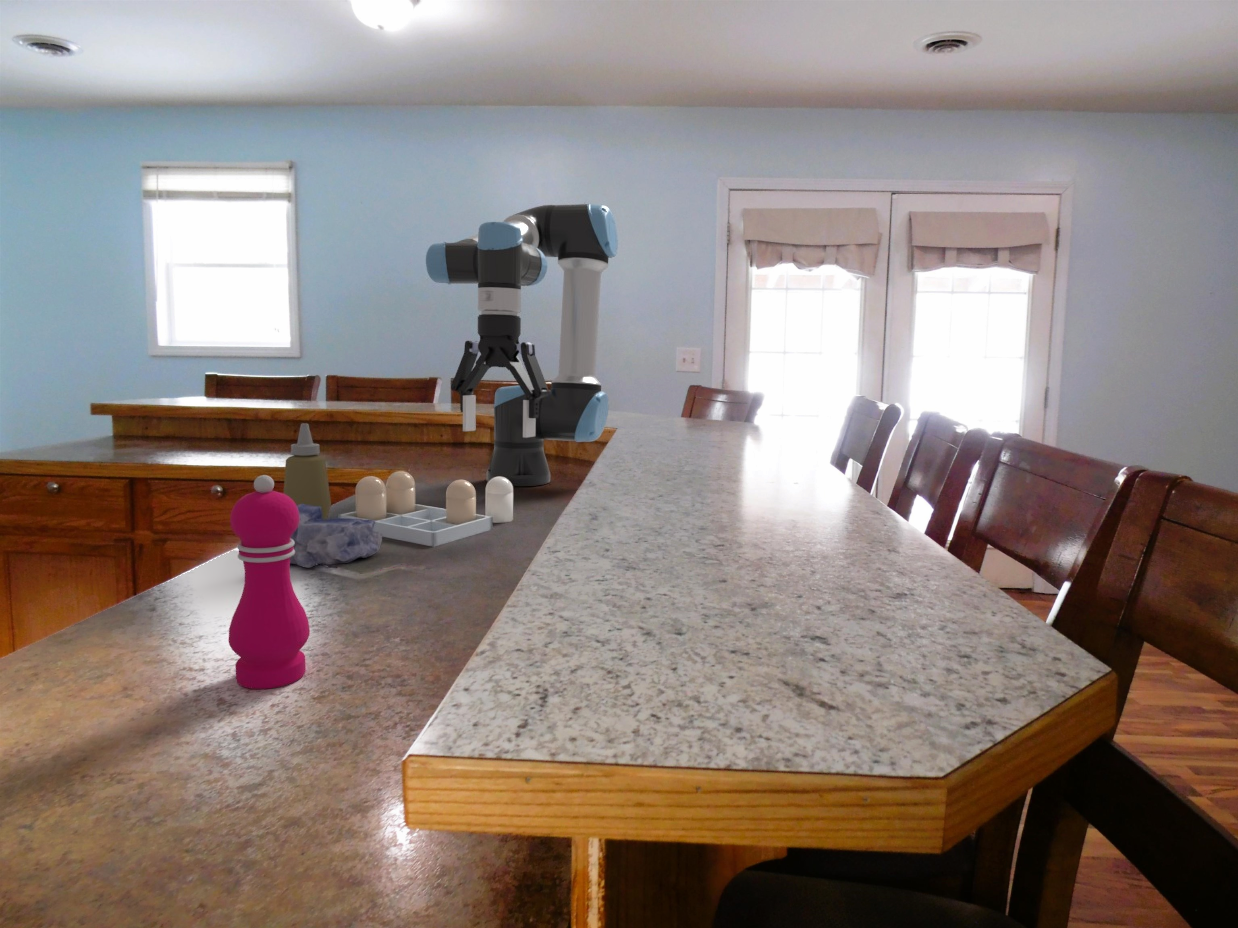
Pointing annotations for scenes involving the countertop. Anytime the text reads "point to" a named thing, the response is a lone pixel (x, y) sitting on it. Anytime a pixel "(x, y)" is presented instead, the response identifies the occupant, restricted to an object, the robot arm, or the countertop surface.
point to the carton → (426, 526)
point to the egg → (499, 500)
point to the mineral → (332, 539)
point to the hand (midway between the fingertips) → (498, 433)
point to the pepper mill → (267, 591)
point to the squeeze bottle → (307, 474)
